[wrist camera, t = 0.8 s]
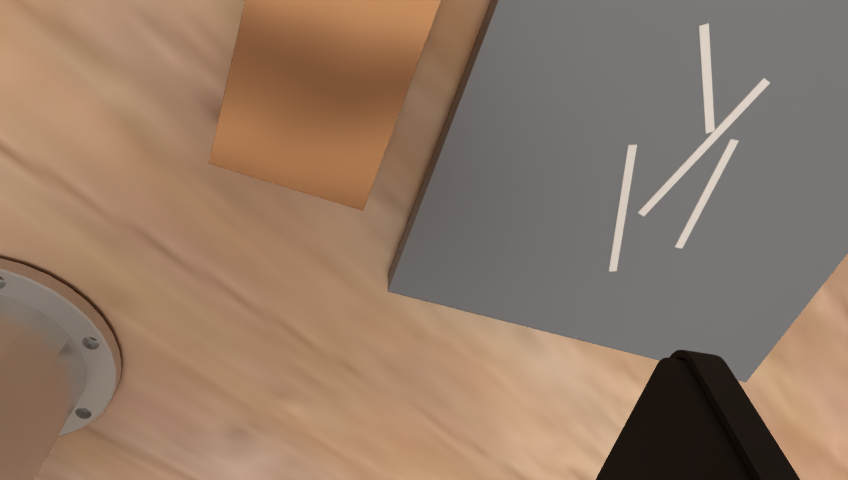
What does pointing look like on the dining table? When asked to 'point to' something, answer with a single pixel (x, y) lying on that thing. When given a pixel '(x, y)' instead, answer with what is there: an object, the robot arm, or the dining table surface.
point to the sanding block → (319, 91)
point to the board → (641, 173)
